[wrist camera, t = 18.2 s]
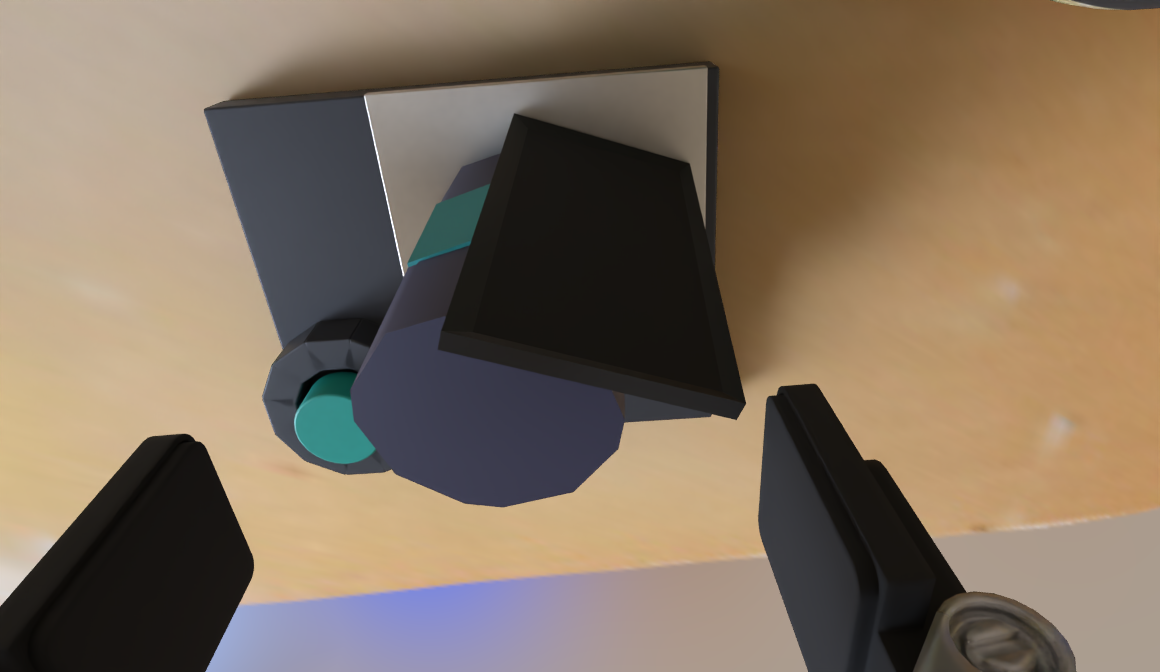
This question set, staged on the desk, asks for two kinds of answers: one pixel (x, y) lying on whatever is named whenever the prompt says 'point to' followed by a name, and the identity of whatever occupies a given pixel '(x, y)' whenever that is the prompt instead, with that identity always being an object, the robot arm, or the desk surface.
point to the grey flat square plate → (484, 113)
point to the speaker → (545, 319)
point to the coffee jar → (1114, 4)
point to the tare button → (331, 421)
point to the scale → (345, 236)
